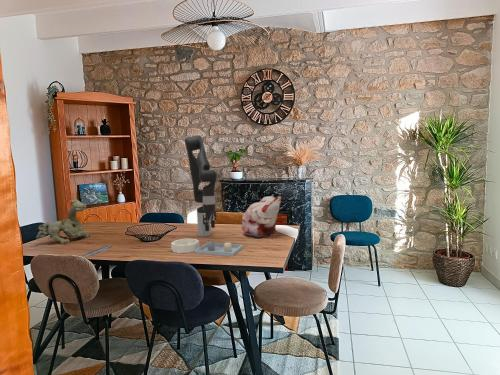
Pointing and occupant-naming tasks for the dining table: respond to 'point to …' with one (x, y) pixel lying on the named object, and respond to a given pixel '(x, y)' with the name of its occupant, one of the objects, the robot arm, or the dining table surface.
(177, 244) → the bowl
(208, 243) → the stone slate
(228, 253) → the tray
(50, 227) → the sculpture
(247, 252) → the dining table surface
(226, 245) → the stone sand
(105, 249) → the plaque
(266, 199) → the sculpture
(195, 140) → the robot arm
